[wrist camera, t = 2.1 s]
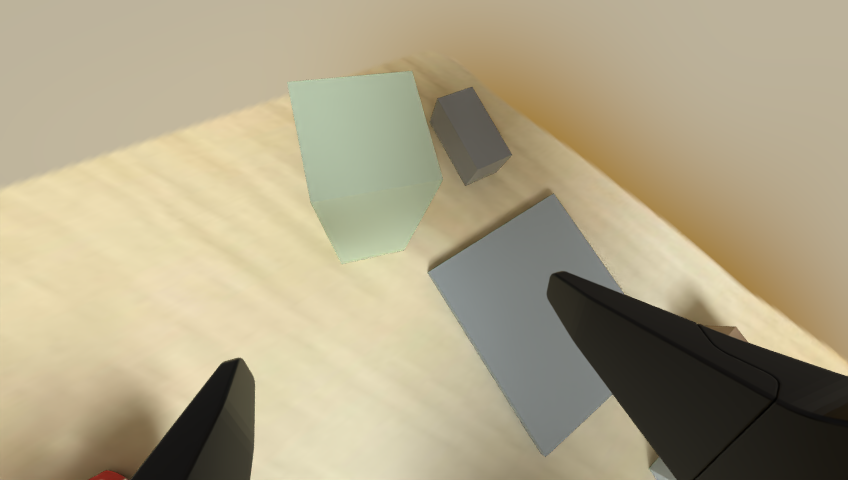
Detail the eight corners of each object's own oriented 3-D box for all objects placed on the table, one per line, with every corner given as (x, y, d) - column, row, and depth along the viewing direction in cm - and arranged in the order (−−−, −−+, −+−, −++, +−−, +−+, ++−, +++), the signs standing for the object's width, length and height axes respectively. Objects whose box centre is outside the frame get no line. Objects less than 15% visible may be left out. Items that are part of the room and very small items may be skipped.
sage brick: (403, 250, 22) (443, 179, 11) (341, 264, 21) (310, 202, 10) (389, 193, 23) (412, 70, 12) (329, 204, 22) (287, 82, 11)
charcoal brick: (495, 173, 25) (512, 154, 22) (464, 186, 24) (477, 169, 22) (460, 111, 26) (472, 86, 23) (429, 123, 25) (437, 98, 22)
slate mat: (654, 347, 24) (662, 347, 23) (540, 453, 21) (545, 457, 20) (549, 196, 25) (553, 193, 25) (427, 272, 22) (429, 271, 21)
